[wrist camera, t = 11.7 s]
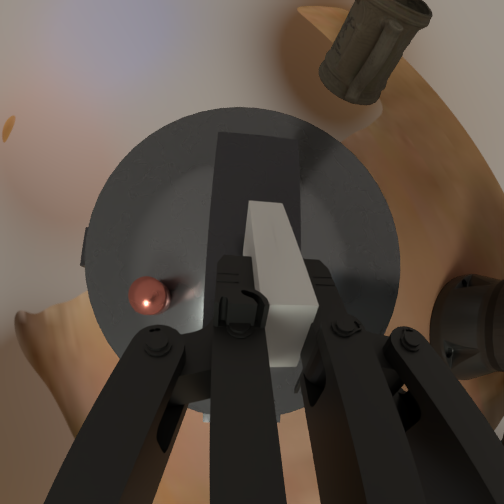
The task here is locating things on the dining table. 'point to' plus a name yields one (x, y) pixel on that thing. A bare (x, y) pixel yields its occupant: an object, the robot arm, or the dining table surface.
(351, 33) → the beer stein
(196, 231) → the cooker lid
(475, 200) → the dining table surface
